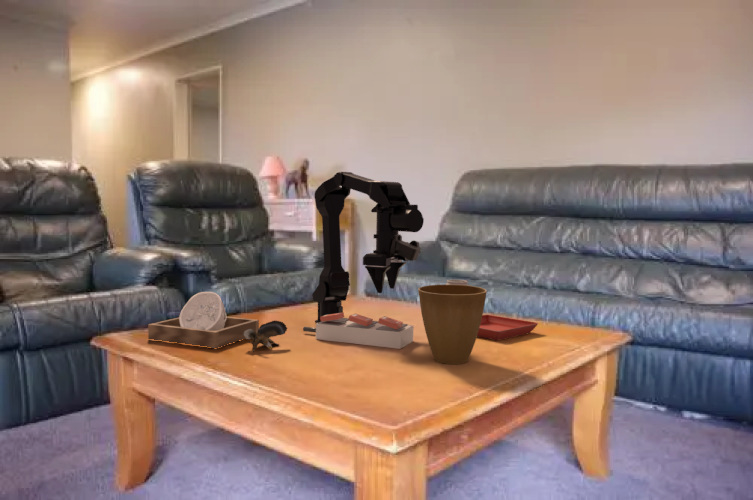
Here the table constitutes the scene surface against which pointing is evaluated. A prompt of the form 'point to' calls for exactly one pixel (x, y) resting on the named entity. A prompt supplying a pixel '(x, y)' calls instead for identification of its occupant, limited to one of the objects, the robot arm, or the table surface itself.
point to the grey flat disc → (203, 312)
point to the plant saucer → (503, 327)
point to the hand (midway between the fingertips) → (386, 290)
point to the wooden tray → (202, 332)
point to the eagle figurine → (265, 334)
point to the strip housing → (363, 333)
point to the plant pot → (451, 319)
